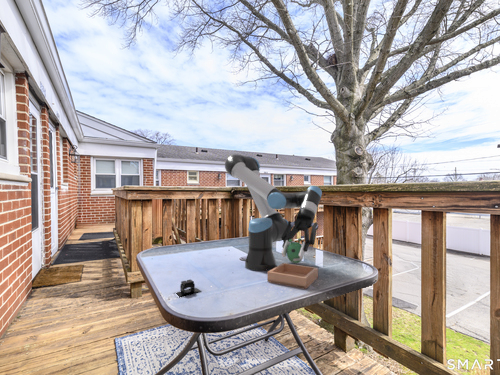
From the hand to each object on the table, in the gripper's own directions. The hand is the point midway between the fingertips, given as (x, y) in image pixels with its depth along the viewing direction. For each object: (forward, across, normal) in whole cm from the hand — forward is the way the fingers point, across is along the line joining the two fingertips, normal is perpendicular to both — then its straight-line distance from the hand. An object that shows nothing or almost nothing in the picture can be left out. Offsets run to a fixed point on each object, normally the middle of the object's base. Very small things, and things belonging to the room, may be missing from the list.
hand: (291, 256), depth 101 cm
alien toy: (0, 0, -5) cm, 5 cm away
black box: (+30, +26, +14) cm, 42 cm away
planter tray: (+5, +1, -10) cm, 11 cm away
